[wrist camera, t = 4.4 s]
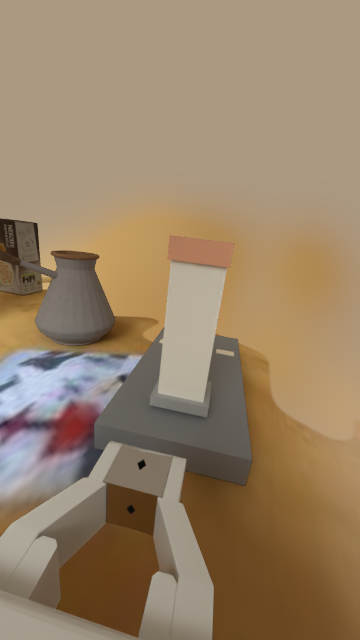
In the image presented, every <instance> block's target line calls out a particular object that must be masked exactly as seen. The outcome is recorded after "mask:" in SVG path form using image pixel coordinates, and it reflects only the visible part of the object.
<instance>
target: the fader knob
mask: <svg viewBox="0 0 360 640" xmlns="http://www.w3.org/2000/svg"><path fill="white" fill-rule="evenodd" d="M233 248H234V243H229V242H220V241H212V240H204V239H195V238H187V237H179V236H170V239H169V249H168V259H170V260H171V266H170V276H169V286H168V295H167V306H166V315H165V326H164V335H163V345H162V355H161V365H160V375H159V379H158V381H157V383H156V385H155V387H154V389H153V391H152V393H151V395H150V405H151V406H156V407H161V408H165V409H170V410H174V411H179V412H184V413H188V414H193V415H197V416H202V417H207V415H208V409H209V401H210V391H211V382H210V381H207V379H208V373H209V367H210V361H211V356H212V350H213V344H214V339H215V333H216V327H217V321H218V315H219V309H220V304H221V298H222V293H223V287H224V281H225V275H226V269H227V267H230V264H231V259H232V253H233Z"/></svg>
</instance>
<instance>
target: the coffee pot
mask: <svg viewBox="0 0 360 640" xmlns="http://www.w3.org/2000/svg"><path fill="white" fill-rule="evenodd" d="M51 255H53V256H54V258H55V261H56V265H57V268H56V271H52V270H49V269H46V268H43V267H40V266H38V265H35V264H32V263H29V262H26V261H23V260H21V259H19V258H17V257H14V256H12V255H10V254H7V253H5V252H3V251H0V260H1V261H4V262H8V263H11V264H14V265H18V266H22V267H25V268H27V269H30V270H33V271H35V272H38V273H41V274H44V275H46V276H49V277H52V280H51V283H50V285H49V287H48V290H47V292H46V294H45V297H44V299H43V302H42V304H41V306H40V309H39V311H38V314H37V316H36V319H35V323H36V325H37V327H38V329H39V330H40V332H41V333H43V334H44V335H46V336H47V337H49V338H51V339H52V341H54V342H56V343H59V344H63V345H73V346H75V345H85V344H90V343H94V342H96V341H98V340H100V339H101V338H102V336H104V335H105V334H106V333H108V332H109V331H110V330H111V328H112V327H113V325H114V322H115V317H114V315H113V312H112V310H111V308H110V305H109V303H108V301H107V298H106V296H105V293H104V291H103V289H102V286H101V284H100V282H99V279H98V277H97V274H96V272H95V270H94V268H95V264H96V260H97V259H98V258H99V255H97V254H92V253H85V252H76V251H51Z"/></svg>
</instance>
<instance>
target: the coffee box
mask: <svg viewBox="0 0 360 640" xmlns="http://www.w3.org/2000/svg"><path fill="white" fill-rule="evenodd" d="M0 251H3V252H5V253H7V254H10V255H12V256H14V257H17V258H19V259H21V260H23V261H26V262H29V263H32V264H35V265H38V266H40V267H41V265H40V253H39V240H38V227H37V223H32V222H25V221H18V220H9V219H0ZM0 291H5V292H10V293H15V294H20V295H26V294H30V293H34V292H39V291H42V278H41V273H38V272H35V271H33V270H30V269H27V268H25V267H22V266H18V265H14V264H11V263H8V262H4V261H1V260H0Z"/></svg>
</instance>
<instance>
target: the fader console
mask: <svg viewBox="0 0 360 640" xmlns="http://www.w3.org/2000/svg"><path fill="white" fill-rule="evenodd" d="M163 335H164V328H163V329H162V331H161V332H160V334H159V335H158V337H157V338H156V339H155V340H154V342H153V343H152V345H151V346H150V347H149V349H148V350H147V351H146V353H145V354H144V356H143V357H142V358H141V360H140V361H139V362H138V364H137V365H136V367H135V368H134V369H133V371H132V372H131V373H130V375H129V376H128V378H127V379H126V380H125V382H124V383H123V384H122V386H121V387H120V389H119V390H118V391H117V393H116V394H115V395H114V397H113V398H112V400H111V401H110V402H109V404H108V405H107V406H106V408H105V409H104V411H103V412H102V413H101V415H100V416H99V418H98V419H97V420H96V422H95V423H94V448H96V449H100V450H105V448H106V446H107V445H108V443H109V442H110V441H115V442H118V443H122V444H127V445H130V446H134V447H138V448H141V449H145V450H151V451H155V452H159V453H164V454H168V455H173V456H176V457H181V458H185V459H187V460H186V467H185V471H188V472H192V473H196V474H200V475H204V476H208V477H212V478H216V479H220V480H224V481H228V482H232V483H236V484H240V485H244V486H245V485H246V481H247V478H248V474H249V470H250V467H251V463H252V454H251V445H250V437H249V429H248V420H247V412H246V404H245V395H244V387H243V379H242V371H241V362H240V354H239V346H238V339H234V338H228V337H222V336H217V335H215V339H214V344H213V350H212V356H211V361H210V367H209V373H208V379H207V381H210V382H211V391H210V401H209V409H208V415H207V417H202V416H197V415H193V414H188V413H184V412H179V411H174V410H170V409H165V408H161V407H156V406H151V405H150V395H151V393H152V391H153V389H154V387H155V385H156V383H157V381H158V379H159V375H160V365H161V355H162V345H163Z"/></svg>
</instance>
